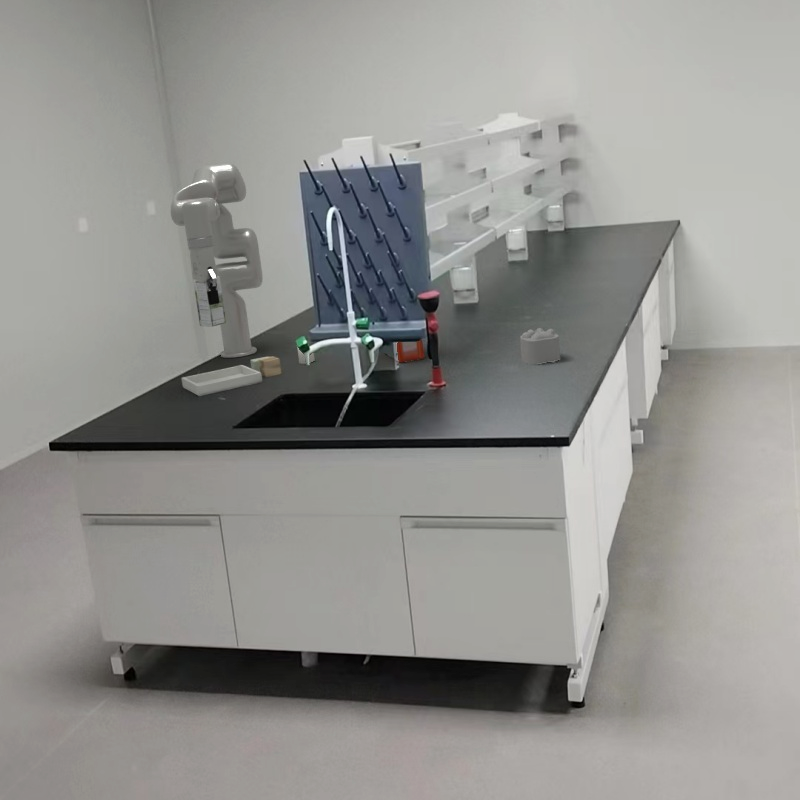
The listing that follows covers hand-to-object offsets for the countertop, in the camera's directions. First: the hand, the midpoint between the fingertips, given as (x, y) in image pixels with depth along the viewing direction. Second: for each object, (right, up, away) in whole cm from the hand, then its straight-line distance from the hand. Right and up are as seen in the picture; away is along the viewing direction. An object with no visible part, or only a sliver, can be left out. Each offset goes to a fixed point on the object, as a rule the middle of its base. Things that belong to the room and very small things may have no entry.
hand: (209, 302), depth 308 cm
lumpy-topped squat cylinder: (+98, -17, -5) cm, 100 cm away
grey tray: (+3, -25, +6) cm, 25 cm away
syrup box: (+1, -7, +2) cm, 7 cm away
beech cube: (+17, -21, +14) cm, 30 cm away
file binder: (+58, -16, +18) cm, 63 cm away
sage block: (+13, -20, +20) cm, 31 cm away
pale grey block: (+27, -17, +25) cm, 41 cm away
